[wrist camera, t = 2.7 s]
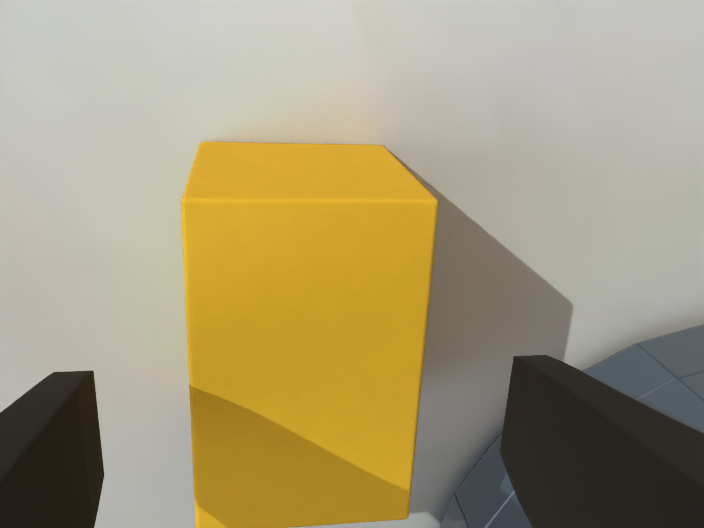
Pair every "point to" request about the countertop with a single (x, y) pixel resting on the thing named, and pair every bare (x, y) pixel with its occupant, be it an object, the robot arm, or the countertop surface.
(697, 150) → the countertop surface
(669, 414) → the bowl
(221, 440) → the sponge
